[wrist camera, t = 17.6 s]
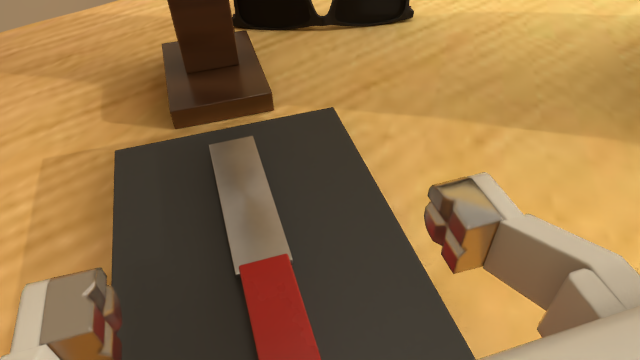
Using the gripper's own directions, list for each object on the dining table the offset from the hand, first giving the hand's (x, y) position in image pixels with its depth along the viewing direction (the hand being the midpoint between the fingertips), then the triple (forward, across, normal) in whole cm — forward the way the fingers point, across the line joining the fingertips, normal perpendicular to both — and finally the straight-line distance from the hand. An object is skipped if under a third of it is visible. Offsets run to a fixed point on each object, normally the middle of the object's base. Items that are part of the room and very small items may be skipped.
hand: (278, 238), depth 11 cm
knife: (+6, 0, +8) cm, 10 cm away
